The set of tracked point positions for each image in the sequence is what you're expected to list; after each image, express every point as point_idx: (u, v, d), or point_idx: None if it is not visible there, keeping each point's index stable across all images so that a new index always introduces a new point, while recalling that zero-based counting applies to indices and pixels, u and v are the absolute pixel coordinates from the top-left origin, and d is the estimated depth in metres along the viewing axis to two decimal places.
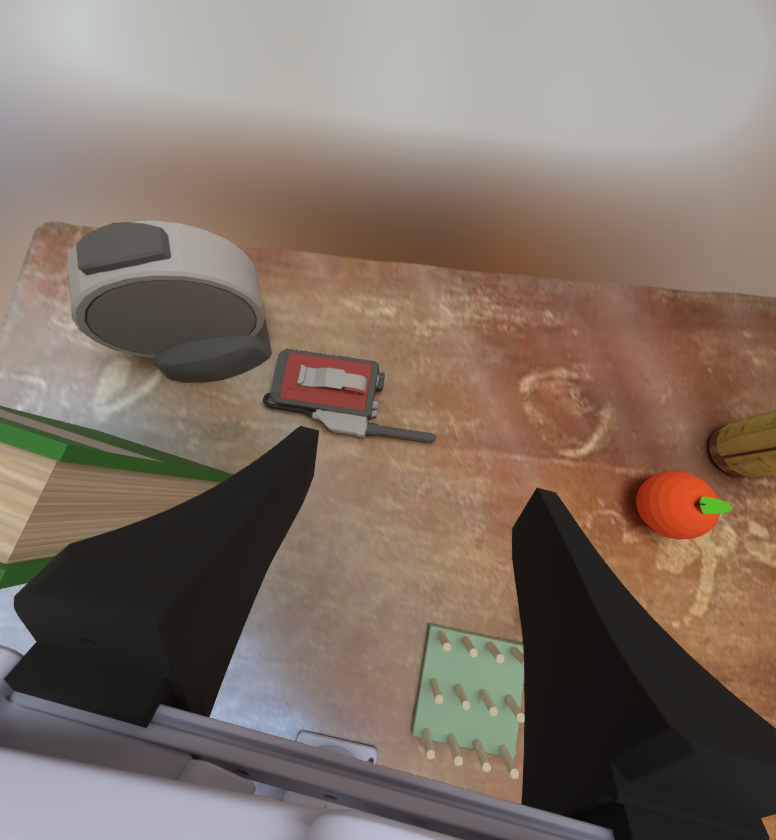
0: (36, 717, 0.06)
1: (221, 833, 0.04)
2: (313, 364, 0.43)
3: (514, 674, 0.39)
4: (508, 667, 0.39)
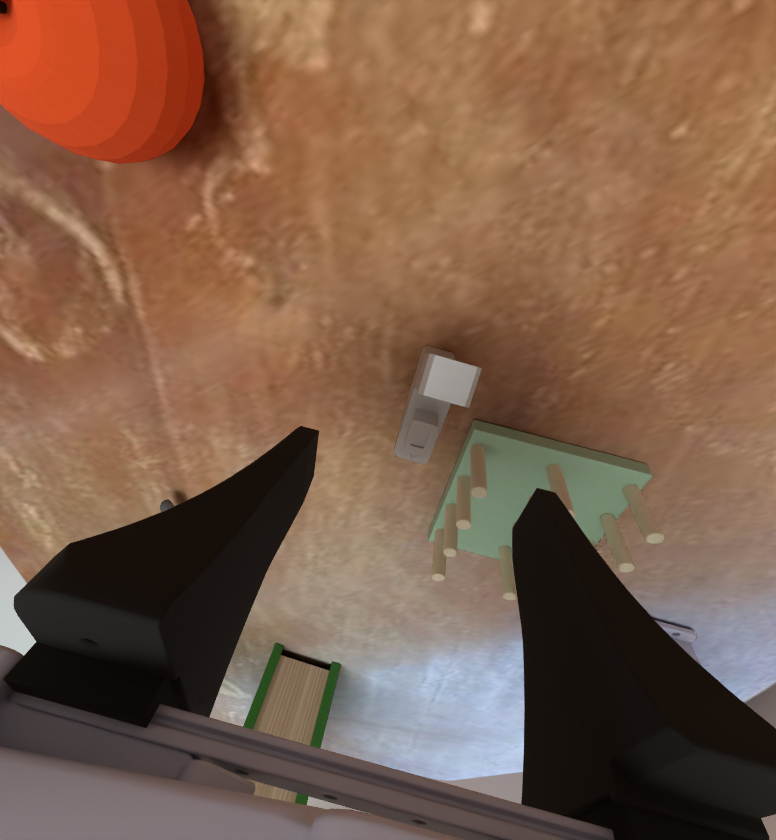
0: (36, 717, 0.06)
1: (223, 833, 0.04)
2: None
3: (516, 455, 0.22)
4: (502, 461, 0.22)
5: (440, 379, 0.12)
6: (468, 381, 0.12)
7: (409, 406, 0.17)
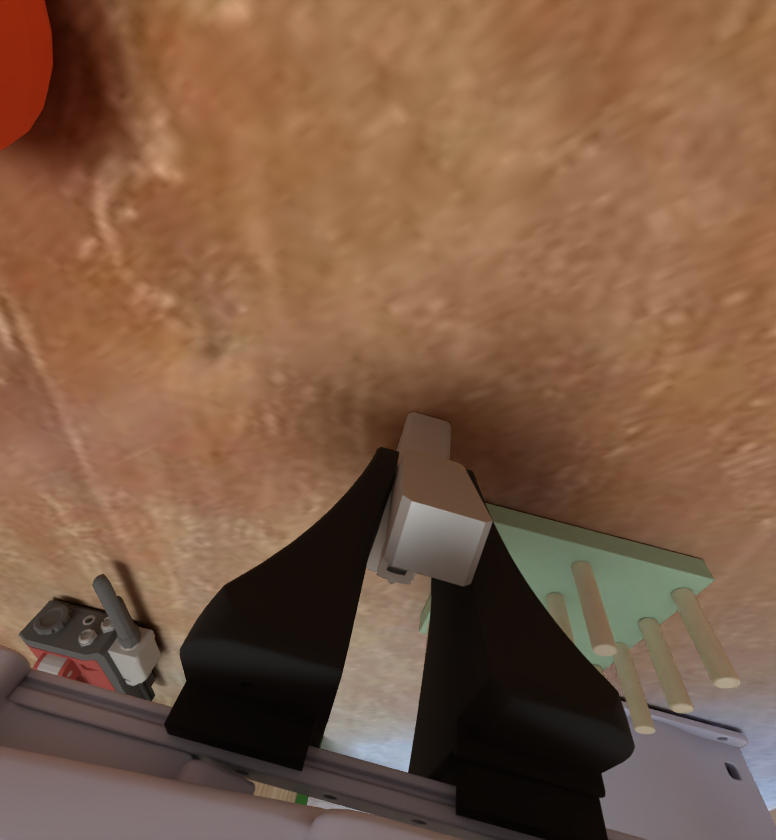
0: (36, 717, 0.06)
1: (223, 832, 0.04)
2: None
3: (532, 548, 0.16)
4: (514, 555, 0.17)
5: (421, 541, 0.07)
6: (469, 545, 0.07)
7: (385, 514, 0.12)
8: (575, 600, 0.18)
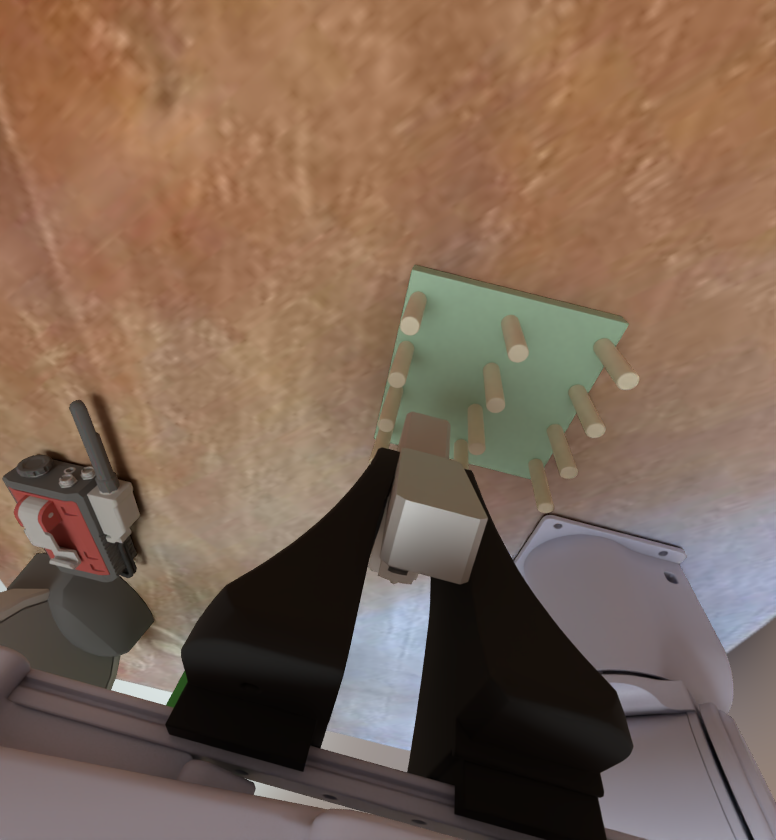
0: (36, 717, 0.06)
1: (223, 833, 0.04)
2: None
3: (464, 305, 0.18)
4: (449, 316, 0.18)
5: (416, 540, 0.07)
6: (465, 542, 0.07)
7: (384, 515, 0.12)
8: (509, 371, 0.19)
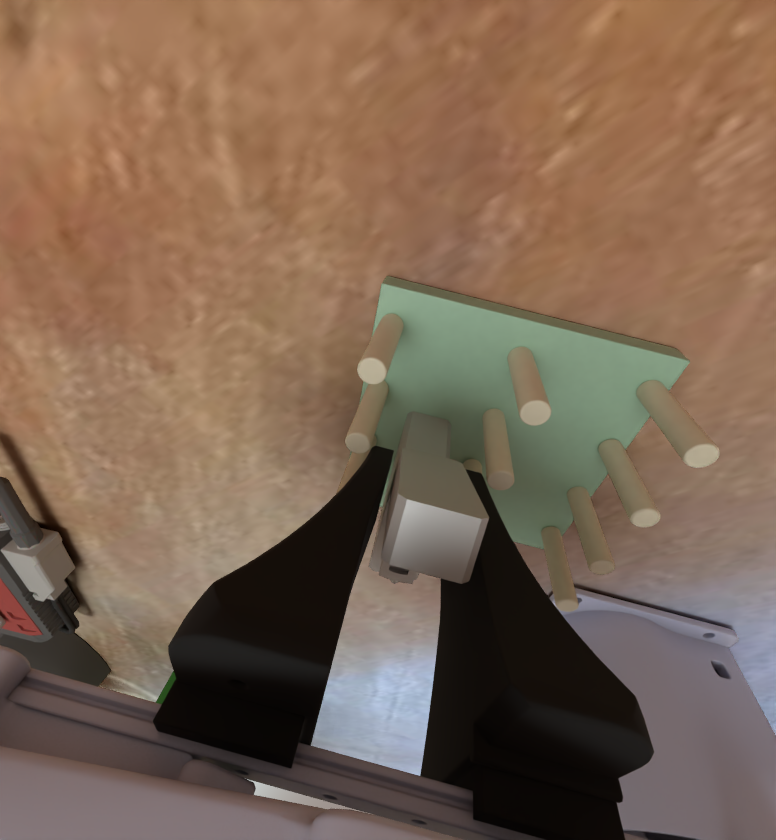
0: (36, 717, 0.06)
1: (221, 834, 0.04)
2: None
3: (456, 332, 0.13)
4: (436, 347, 0.13)
5: (418, 539, 0.07)
6: (466, 542, 0.07)
7: (385, 514, 0.12)
8: (518, 420, 0.14)
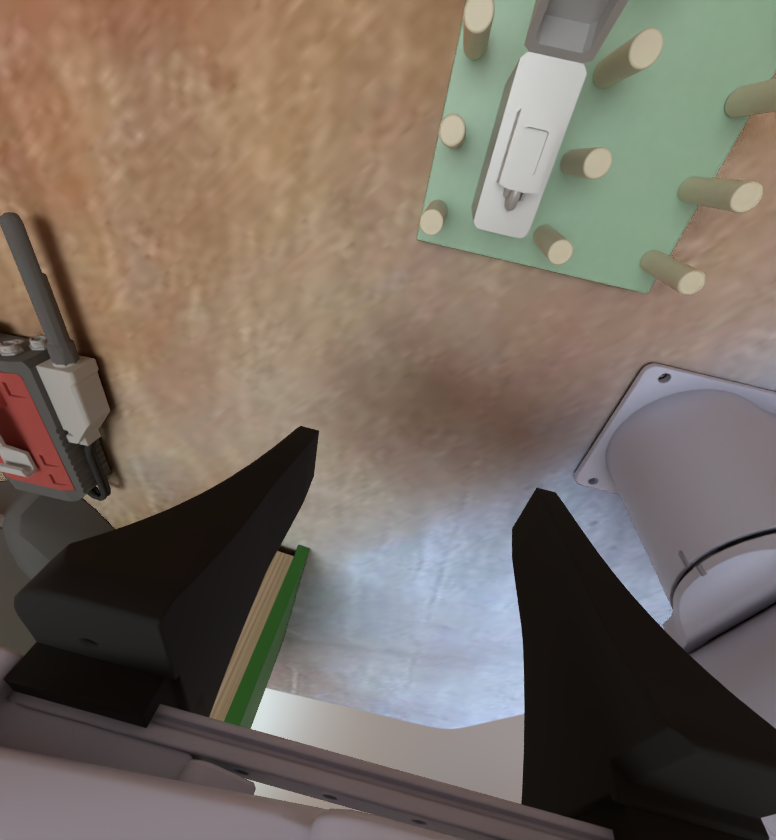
0: (36, 717, 0.06)
1: (222, 832, 0.04)
2: None
3: None
4: None
5: None
6: None
7: (508, 107, 0.10)
8: (635, 73, 0.13)
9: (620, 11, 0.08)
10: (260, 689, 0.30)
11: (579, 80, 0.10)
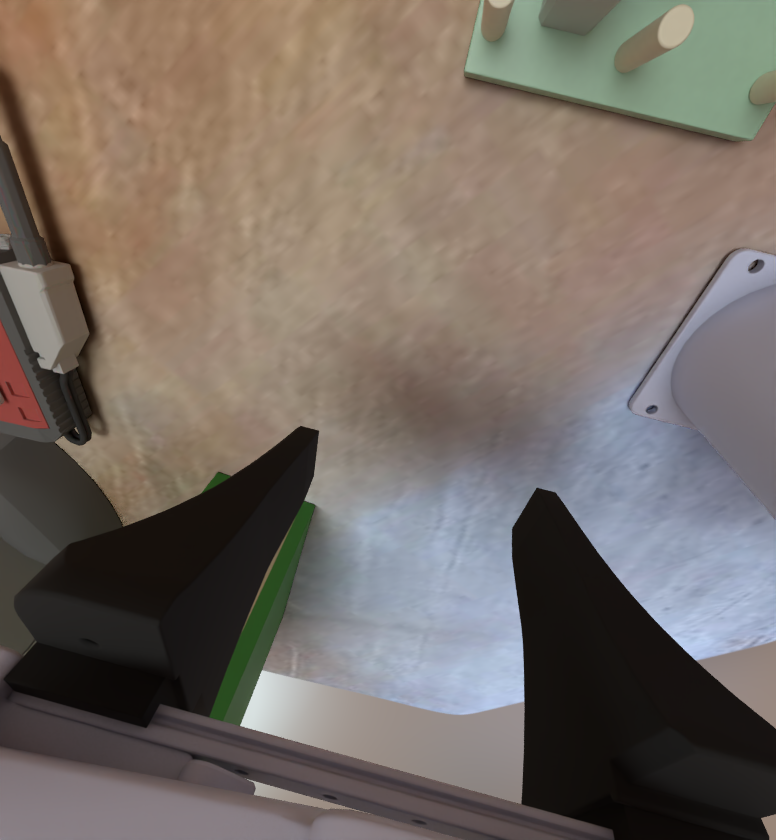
0: (36, 717, 0.06)
1: (222, 833, 0.04)
2: None
3: None
4: None
5: None
6: None
7: None
8: None
9: None
10: (259, 660, 0.27)
11: None
